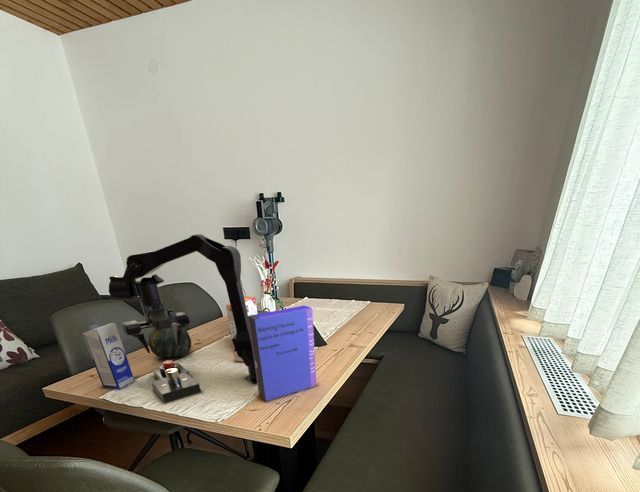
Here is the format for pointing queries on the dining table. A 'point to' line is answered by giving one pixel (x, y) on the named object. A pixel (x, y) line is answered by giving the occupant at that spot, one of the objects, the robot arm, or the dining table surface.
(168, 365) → the disc
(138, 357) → the dining table surface
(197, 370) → the dining table surface
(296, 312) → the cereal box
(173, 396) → the panel
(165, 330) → the squash
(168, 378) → the knob
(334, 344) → the dining table surface
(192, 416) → the dining table surface
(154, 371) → the block
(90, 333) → the milk carton
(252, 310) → the cracker box
